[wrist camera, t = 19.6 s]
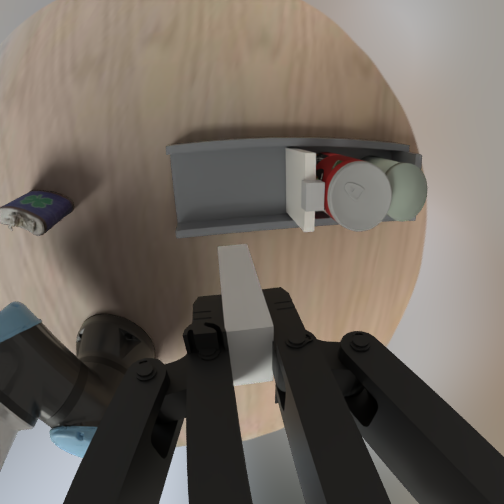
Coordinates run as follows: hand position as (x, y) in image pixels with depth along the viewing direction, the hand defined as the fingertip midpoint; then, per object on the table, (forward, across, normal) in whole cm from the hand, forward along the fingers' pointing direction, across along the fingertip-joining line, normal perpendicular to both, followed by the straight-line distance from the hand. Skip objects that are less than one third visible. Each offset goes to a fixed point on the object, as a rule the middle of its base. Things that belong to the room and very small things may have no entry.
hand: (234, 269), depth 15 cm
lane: (+24, +10, 0) cm, 27 cm away
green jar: (+23, +22, 0) cm, 32 cm away
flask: (+25, -26, +1) cm, 36 cm away
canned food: (+24, +14, 0) cm, 28 cm away
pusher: (+23, +9, 0) cm, 25 cm away
